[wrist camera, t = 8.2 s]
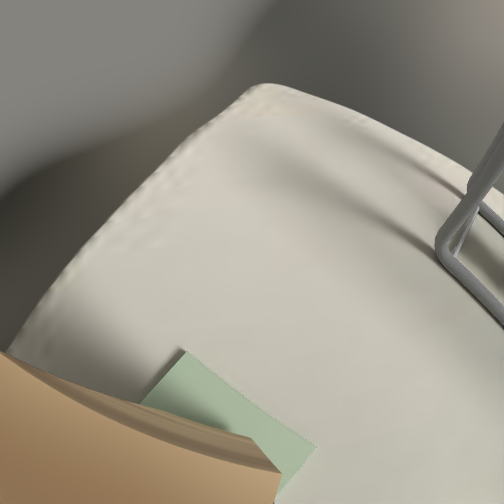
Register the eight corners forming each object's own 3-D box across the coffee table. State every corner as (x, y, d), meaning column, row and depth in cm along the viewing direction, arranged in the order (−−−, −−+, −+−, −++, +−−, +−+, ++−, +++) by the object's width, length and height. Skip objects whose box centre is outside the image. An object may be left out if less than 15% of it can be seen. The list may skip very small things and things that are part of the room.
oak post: (226, 515, 11) (196, 677, 1) (139, 486, 12) (-45, 545, 1) (250, 437, 14) (282, 474, 3) (162, 410, 14) (-10, 345, 3)
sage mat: (214, 553, 11) (213, 557, 10) (93, 455, 14) (89, 456, 13) (314, 445, 15) (316, 446, 14) (188, 353, 17) (187, 351, 17)
